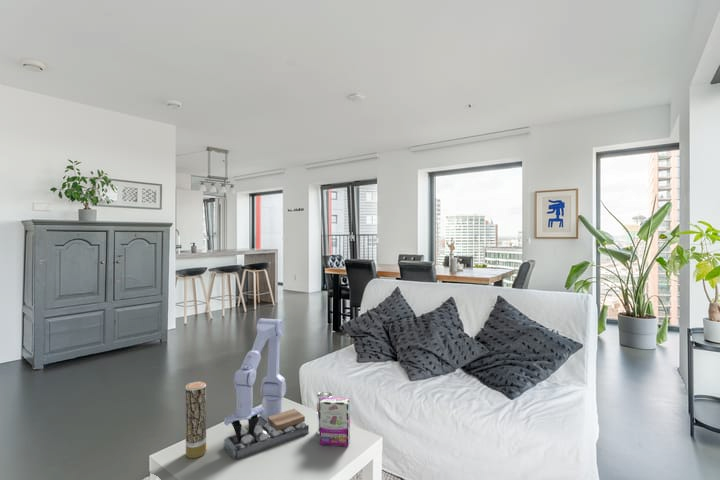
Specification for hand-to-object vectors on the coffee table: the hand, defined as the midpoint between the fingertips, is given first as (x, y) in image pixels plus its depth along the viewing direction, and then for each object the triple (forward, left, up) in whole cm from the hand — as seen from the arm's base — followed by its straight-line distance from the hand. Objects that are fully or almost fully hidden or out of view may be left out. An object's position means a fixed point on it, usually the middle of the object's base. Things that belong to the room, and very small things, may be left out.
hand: (244, 438), depth 139 cm
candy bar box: (+18, +28, -4) cm, 34 cm away
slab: (0, +17, +1) cm, 17 cm away
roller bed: (0, +9, -4) cm, 10 cm away
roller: (0, 0, -2) cm, 2 cm away
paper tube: (-7, -15, -4) cm, 17 cm away
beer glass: (+9, +30, -4) cm, 31 cm away
